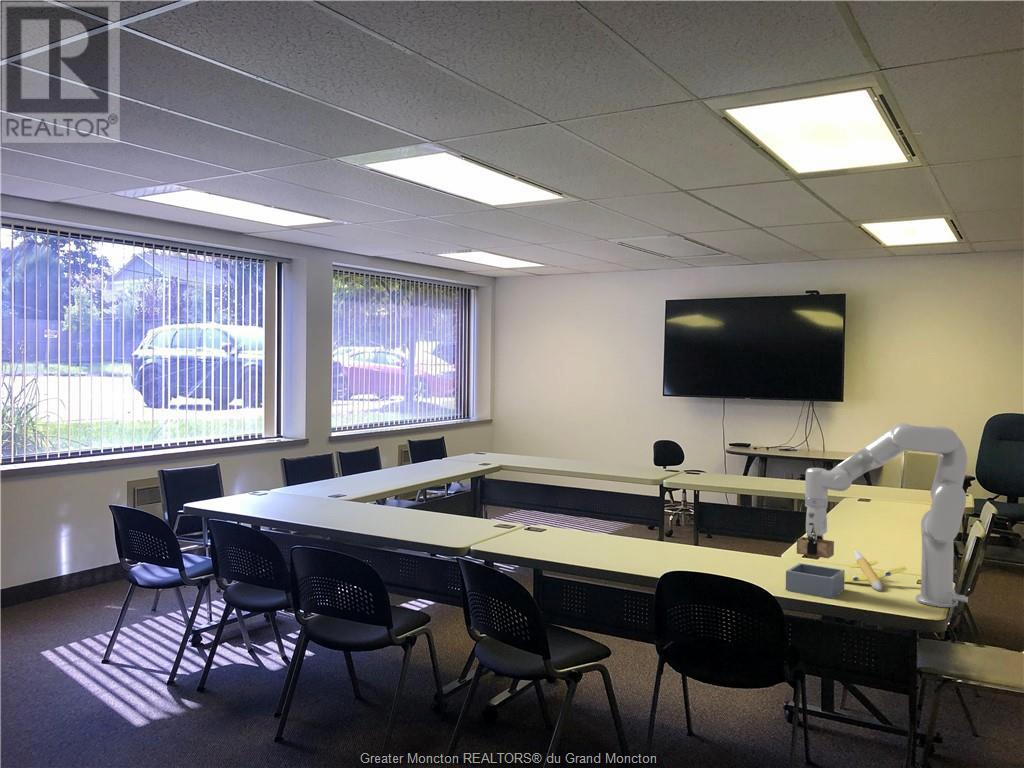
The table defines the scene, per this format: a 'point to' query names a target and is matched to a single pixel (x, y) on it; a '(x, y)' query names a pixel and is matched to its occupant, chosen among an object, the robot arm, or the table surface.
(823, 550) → the walnut crate
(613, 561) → the table surface
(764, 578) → the table surface
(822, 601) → the table surface
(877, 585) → the toy jet
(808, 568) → the blue-grey open box
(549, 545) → the table surface
